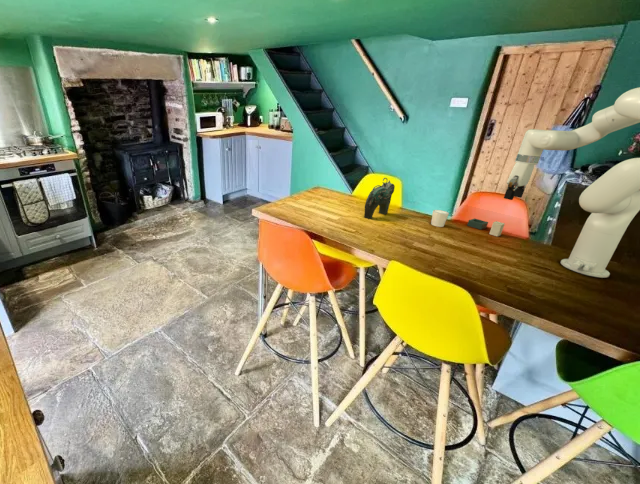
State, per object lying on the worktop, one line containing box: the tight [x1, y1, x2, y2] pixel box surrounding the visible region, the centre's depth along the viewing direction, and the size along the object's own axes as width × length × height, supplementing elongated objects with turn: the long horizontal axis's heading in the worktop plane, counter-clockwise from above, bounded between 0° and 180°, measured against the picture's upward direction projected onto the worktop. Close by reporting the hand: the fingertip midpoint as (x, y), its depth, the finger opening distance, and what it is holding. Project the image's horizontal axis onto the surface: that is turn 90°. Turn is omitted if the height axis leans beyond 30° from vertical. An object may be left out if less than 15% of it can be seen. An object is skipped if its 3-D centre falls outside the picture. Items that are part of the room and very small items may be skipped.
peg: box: [488, 220, 506, 237], centre depth 140 cm, size 3×3×6 cm
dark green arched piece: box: [363, 177, 395, 220], centre depth 155 cm, size 20×6×20 cm, turn 128°
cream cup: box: [430, 209, 450, 228], centre depth 149 cm, size 7×7×7 cm
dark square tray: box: [466, 218, 489, 230], centre depth 150 cm, size 6×6×3 cm
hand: (512, 198), depth 135 cm, fingers open, 9 cm apart
